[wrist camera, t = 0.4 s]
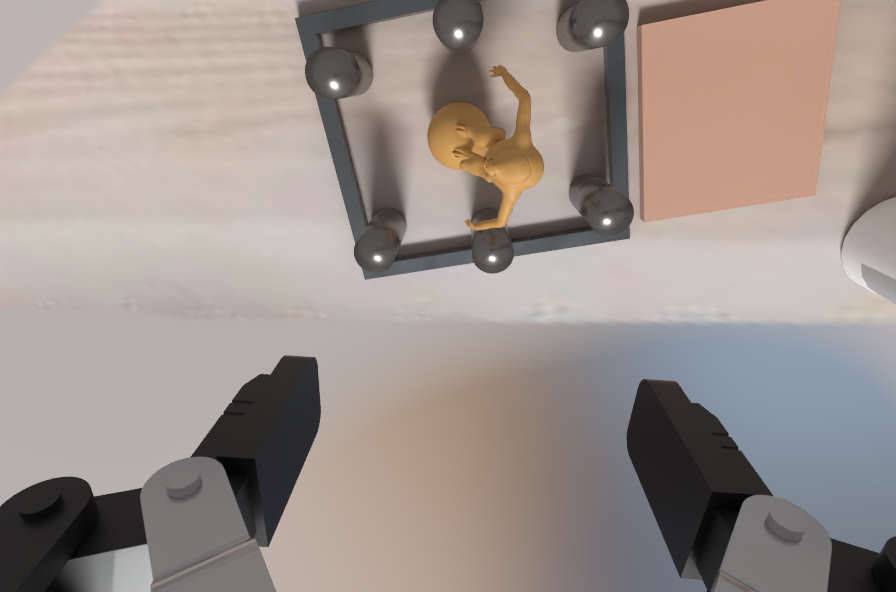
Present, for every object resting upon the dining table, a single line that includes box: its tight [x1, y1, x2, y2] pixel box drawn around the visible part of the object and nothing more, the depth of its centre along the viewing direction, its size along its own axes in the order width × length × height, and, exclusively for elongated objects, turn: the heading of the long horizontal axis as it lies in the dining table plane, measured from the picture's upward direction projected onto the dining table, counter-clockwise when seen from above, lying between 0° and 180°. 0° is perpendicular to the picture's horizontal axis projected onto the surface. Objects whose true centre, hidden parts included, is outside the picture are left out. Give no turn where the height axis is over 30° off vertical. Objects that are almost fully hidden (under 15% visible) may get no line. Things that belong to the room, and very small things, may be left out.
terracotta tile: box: [637, 0, 841, 222], centre depth 31 cm, size 11×12×1 cm
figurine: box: [427, 65, 544, 230], centre depth 27 cm, size 8×6×12 cm
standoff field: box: [295, 0, 634, 280], centre depth 29 cm, size 19×17×6 cm
